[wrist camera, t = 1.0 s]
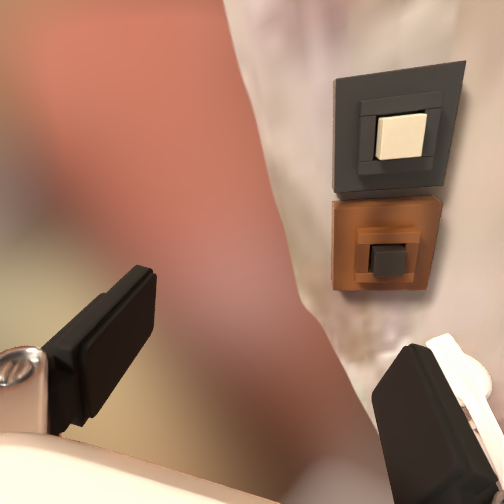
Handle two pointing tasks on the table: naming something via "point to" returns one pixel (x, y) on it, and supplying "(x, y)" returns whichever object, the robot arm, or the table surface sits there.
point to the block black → (387, 105)
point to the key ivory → (400, 136)
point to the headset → (472, 396)
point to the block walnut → (383, 240)
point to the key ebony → (387, 260)
